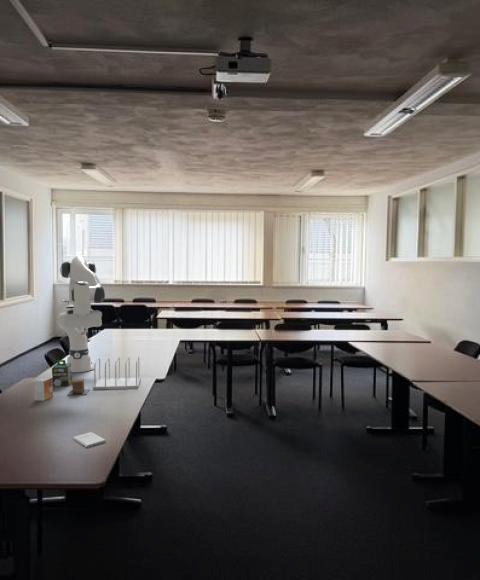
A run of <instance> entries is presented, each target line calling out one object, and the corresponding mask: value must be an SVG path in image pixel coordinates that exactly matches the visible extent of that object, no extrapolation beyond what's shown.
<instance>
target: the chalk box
mask: <svg viewBox="0 0 480 580" xmlns="http://www.w3.org/2000/svg"><path fill="white" fill-rule="evenodd" d="M51 374H52V375H51V376H52V377H51V378H52V379H53V388H54V387H69V386H70V385H72V384H71V383H72V381H73V375H72V374H73V372H72V371H71V363H67V361H66V360H65V359H59V360H58V359H57V360H56V363H55V364H54V365H53V366H52V367H51Z"/></svg>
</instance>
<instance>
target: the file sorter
mask: <svg viewBox="0 0 480 580" xmlns="http://www.w3.org/2000/svg"><path fill="white" fill-rule="evenodd" d="M135 361H136V362H135V377H131V376H130V374H131V373H130V365H131V362H130V356H129V357H127V359H126V361H125V364H124V366H125V367H124V368H125V369H124V371H125V377H121V358H120V356H119V357H117V358H116V360H115V365H114V366H115V367H114V378H113V377H111V367H110V366H111V364H110V362H111V361H110V357H107V358H106V360H105V362H104V378H101V359H100V357H98V358H97V359H96V360H95V362H94V370H93V371H94V377H93V379H94V380H93V382H94V384H93V387H92V391H94V390H125V389H126V390H127V389H128V390H129V389H133V390H134V389H139V387H140V383H141V380H142V379H141V378H142V377H140V356H137V358H136V360H135ZM97 362H98V373H99V374H98V377H99V378H97V377H96V366H97V365H96V364H97ZM107 362H108V378H107ZM117 362H118V377H117ZM127 362H128V377H127ZM96 378H97V380H96Z"/></svg>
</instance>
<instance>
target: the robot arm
mask: <svg viewBox="0 0 480 580" xmlns="http://www.w3.org/2000/svg"><path fill="white" fill-rule="evenodd" d="M59 271H60V275H61V277H62V278H65V279H69V283H68V284H69V285H68V302H69V304H71V305H72V306H73V307H72V308H70V309H69V308H68V309H67V310H66V311H64V312H60V313H59V314H58V316H57V317H56V322H57V326H59V328H60V329H62V330H63V331H64V332H65V333H66V334H67V336H68V341H69V351H68V354H69V356H68V357H67V358H66V363H71V371H72V373H85V372H88V371H94V365H95V363H92V361H91V355H90V354H89V353H90V352H89V347H88V346H89V345H88V344H89V343H88V336H87V331H88V329H89V328H94V327H95V328H99V327H101V326H102V325H103V323H102V317H103V312H102V311H101V310H99V309H97V310H94V309H92V307H91V306H92V304H93V303H94V304H101V303H102V302H103V301H104V300H105V299H106V292H105V289H104V287H103V286H102V284H101V282H100V280H99V278H98V275H97V274H96V273H97V267H96V264H95V263H94V262H91V261H87V259H86V258H85V257H84V256H79V255H78V256H75V257H73V258H72V260H71V261H64V262H62V263H61V265H60V267H59ZM91 285H92V286H91ZM91 303H92V304H91ZM82 329H85V330H84V331H82Z"/></svg>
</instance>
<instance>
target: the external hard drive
mask: <svg viewBox="0 0 480 580" xmlns="http://www.w3.org/2000/svg"><path fill="white" fill-rule="evenodd" d="M72 440H74V441H75V442H78V443H79V444H80V445H82V446H83V445H84V447H85V448H86V447H88V448H91V447H94V446H93V445H95V446H98V445H101V444H105V443H106V442H107V440H106V439H105V438H103V437H101V436H99V435H98V434H96V433H94V432H92V431H89V432H86V433H82V434H78V435H76V436H75V435H74V436H73V439H72ZM97 444H98V445H97ZM90 446H91V447H90Z"/></svg>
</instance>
